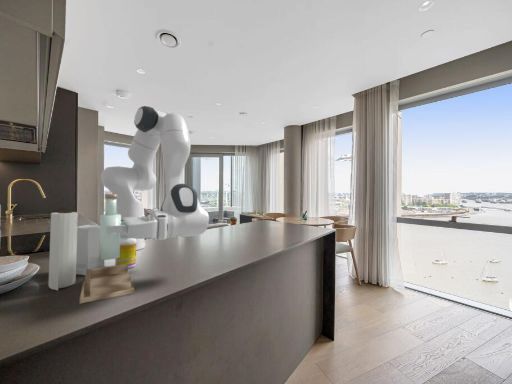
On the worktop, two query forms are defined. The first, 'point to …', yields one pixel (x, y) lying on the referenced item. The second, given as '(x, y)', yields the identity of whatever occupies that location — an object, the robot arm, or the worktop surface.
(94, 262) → the skincare box
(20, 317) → the worktop surface
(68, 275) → the paper towel roll
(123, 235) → the supplement bottle
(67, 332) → the worktop surface
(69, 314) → the worktop surface
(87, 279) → the bottle stand
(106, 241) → the glass bottle
